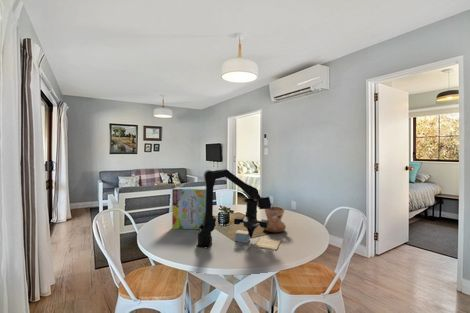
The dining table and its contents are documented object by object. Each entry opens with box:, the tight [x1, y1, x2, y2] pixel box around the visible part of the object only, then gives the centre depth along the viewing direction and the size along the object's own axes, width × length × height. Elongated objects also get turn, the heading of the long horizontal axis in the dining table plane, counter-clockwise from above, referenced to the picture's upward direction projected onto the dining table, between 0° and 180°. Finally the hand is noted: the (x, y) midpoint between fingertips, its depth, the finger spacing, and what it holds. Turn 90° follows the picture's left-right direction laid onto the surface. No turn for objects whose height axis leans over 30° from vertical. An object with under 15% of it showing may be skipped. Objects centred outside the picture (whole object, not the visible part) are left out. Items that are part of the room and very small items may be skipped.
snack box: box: [171, 186, 206, 230], centre depth 158 cm, size 22×9×26 cm, turn 84°
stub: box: [234, 229, 251, 244], centre depth 137 cm, size 7×5×5 cm
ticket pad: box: [253, 237, 282, 251], centre depth 132 cm, size 12×13×1 cm
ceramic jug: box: [263, 205, 287, 234], centre depth 155 cm, size 18×14×14 cm
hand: (251, 237), depth 135 cm, fingers closed
